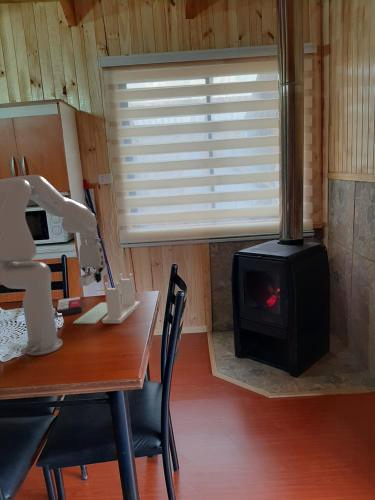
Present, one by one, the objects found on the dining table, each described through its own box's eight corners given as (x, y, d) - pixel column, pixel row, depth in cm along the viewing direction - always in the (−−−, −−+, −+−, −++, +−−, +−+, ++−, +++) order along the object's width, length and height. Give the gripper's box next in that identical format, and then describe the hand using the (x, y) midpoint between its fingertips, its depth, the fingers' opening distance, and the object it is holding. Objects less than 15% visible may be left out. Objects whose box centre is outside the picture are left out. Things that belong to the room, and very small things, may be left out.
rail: (87, 285, 151) (85, 277, 151) (79, 285, 152) (78, 277, 151) (107, 273, 170) (106, 266, 170) (100, 273, 171) (100, 266, 170)
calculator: (55, 309, 162) (57, 298, 177) (57, 318, 163) (58, 307, 177) (81, 305, 165) (80, 295, 179) (82, 314, 166) (81, 303, 180)
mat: (94, 324, 150) (94, 322, 150) (73, 323, 152) (72, 322, 152) (119, 303, 175) (119, 302, 175) (101, 303, 177) (100, 302, 177)
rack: (120, 323, 148) (116, 285, 146) (102, 323, 150) (97, 286, 147) (140, 304, 171) (137, 271, 169) (124, 304, 173) (121, 271, 170)
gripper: (110, 239, 160) (115, 279, 163) (76, 240, 164) (82, 279, 167) (103, 242, 152) (108, 284, 156) (67, 243, 156) (73, 284, 160)
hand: (94, 281), depth 161 cm, fingers closed on rail, 3 cm apart
